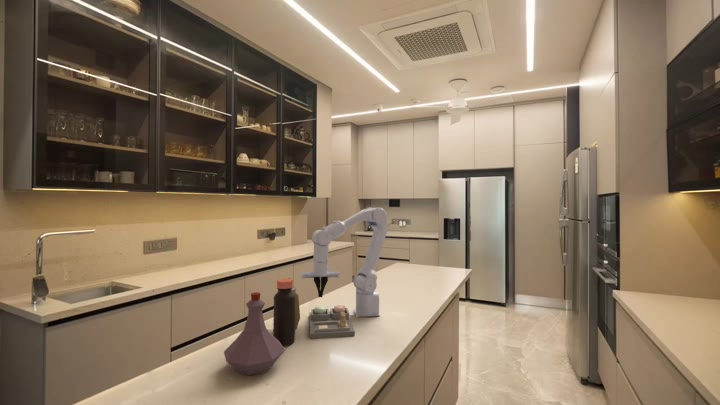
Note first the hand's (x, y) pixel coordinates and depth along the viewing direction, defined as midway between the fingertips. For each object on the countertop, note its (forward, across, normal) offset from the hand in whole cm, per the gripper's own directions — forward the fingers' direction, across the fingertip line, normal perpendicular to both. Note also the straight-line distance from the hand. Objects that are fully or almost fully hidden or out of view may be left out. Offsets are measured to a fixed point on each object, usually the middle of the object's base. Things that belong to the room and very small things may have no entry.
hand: (320, 296), depth 125 cm
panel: (+9, +4, -5) cm, 11 cm away
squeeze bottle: (+10, -12, -6) cm, 16 cm away
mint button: (+6, 0, 0) cm, 6 cm away
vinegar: (+10, -12, -18) cm, 24 cm away
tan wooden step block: (+7, +8, -11) cm, 15 cm away
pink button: (+6, +7, 0) cm, 10 cm away
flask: (+10, -20, -33) cm, 40 cm away
